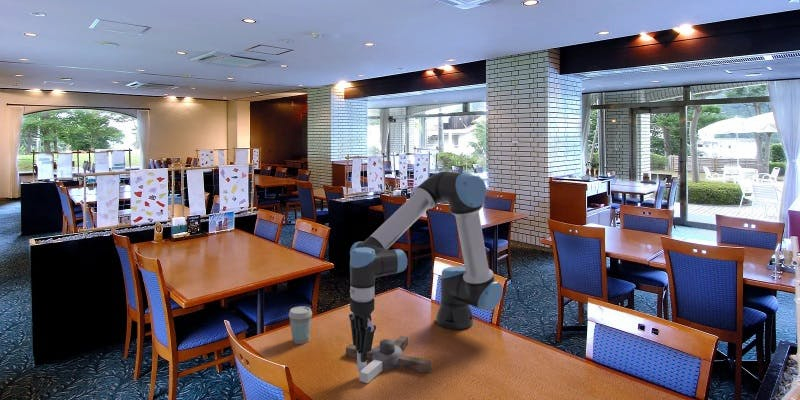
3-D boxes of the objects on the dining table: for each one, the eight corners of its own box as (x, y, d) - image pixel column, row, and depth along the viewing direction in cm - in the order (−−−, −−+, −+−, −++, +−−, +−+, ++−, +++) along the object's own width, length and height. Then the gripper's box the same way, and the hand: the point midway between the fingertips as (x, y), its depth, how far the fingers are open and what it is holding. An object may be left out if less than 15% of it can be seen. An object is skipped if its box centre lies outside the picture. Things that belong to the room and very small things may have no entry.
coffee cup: (307, 347, 162) (306, 315, 161) (285, 344, 164) (284, 313, 162) (316, 337, 170) (315, 306, 169) (295, 335, 172) (294, 304, 171)
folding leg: (374, 368, 147) (374, 359, 146) (382, 370, 145) (382, 361, 145) (359, 380, 139) (359, 371, 138) (367, 383, 137) (367, 374, 137)
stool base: (405, 342, 166) (405, 324, 166) (433, 372, 145) (434, 351, 144) (344, 353, 158) (344, 334, 157) (364, 386, 136) (364, 364, 135)
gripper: (341, 294, 142) (341, 364, 145) (362, 307, 131) (361, 382, 135) (362, 290, 146) (361, 358, 149) (383, 302, 136) (382, 375, 139)
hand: (361, 369), depth 142 cm, fingers closed
